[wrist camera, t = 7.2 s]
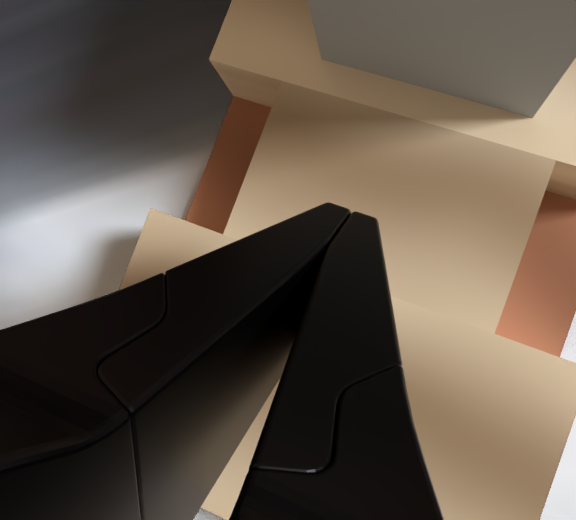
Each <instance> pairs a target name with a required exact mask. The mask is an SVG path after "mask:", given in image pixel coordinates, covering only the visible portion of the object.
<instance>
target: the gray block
mask: <svg viewBox="0 0 576 520" xmlns="http://www.w3.org/2000/svg"><path fill="white" fill-rule="evenodd" d="M307 1H308V5H309V9H310V13H311V17H312V22H313V26H314V30H315V34H316V38H317V42H318V46H319V50H320V54H321V58H322V60H325V61H329V62H332V63H336V64H340V65H343V66H347V67H350V68H354V69H358V70H361V71H365V72H369V73H372V74H376V75H379V76H383V77H387V78H390V79H394V80H398V81H401V82H405V83H408V84H412V85H416V86H419V87H423V88H426V89H430V90H434V91H437V92H441V93H445V94H448V95H452V96H455V97H459V98H463V99H466V100H470V101H473V102H477V103H481V104H484V105H488V106H492V107H495V108H499V109H502V110H506V111H510V112H513V113H517V114H521V115H524V116H528V117H531V118H533V117H534V116H535V114H536V113H537V111H538V110H539V109H540V107H541V106H542V104H543V103H544V102H545V100H546V99H547V97H548V96H549V95H550V93H551V92H552V90H553V89H554V88H555V86H556V85H557V83H558V82H559V81H560V79H561V78H562V76H563V75H564V74H565V72H566V71H567V69H568V68H569V67H570V65H571V64H572V62H573V61H574V60H575V58H576V0H307Z"/></svg>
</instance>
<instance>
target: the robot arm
mask: <svg viewBox="0 0 576 520" xmlns="http://www.w3.org/2000/svg"><path fill="white" fill-rule="evenodd" d="M280 377H281V378H280ZM279 379H280V381H279ZM278 381H279V384H278V387H277V390H276V392H275V395H274V398H273V401H272V404H271V406H270V409H269V412H268V415H267V418H266V421H265V423H264V426H263V429H262V432H261V435H260V438H259V440H258V443H257V446H256V449H255V452H254V455H253V457H252V460H251V463H250V466H249V470H248V473H247V475H246V477H245V480H244V483H243V486H242V488H241V491H240V494H239V496H238V499H237V501H236V504H235V506H234V509H233V511H232V514H231V516H230V518H229V520H444V518H443V515H442V512H441V509H440V506H439V503H438V500H437V497H436V494H435V490H434V487H433V484H432V481H431V478H430V475H429V472H428V469H427V466H426V463H425V459H424V456H423V452H422V449H421V446H420V442H419V439H418V435H417V432H416V428H415V425H414V421H413V416H412V411H411V407H410V402H409V397H408V392H407V387H406V381H405V375H404V370H403V368H402V359H401V353H400V347H399V341H398V335H397V330H396V324H395V318H394V312H393V306H392V300H391V294H390V288H389V282H388V276H387V270H386V264H385V258H384V252H383V246H382V241H381V235H380V229H379V223H378V220H377V219H376V218H375V217H372V216H369V215H366V214H363V213H360V212H356V211H355V212H352V213H351V211H350V209H348V208H345V207H342V206H339V205H336V204H333V203H330V202H327V203H324V204H321V205H319V206H317V207H314V208H312V209H310V210H307V211H305V212H303V213H300V214H298V215H296V216H293V217H291V218H289V219H286V220H284V221H282V222H279V223H277V224H275V225H272V226H270V227H268V228H265V229H263V230H260V231H258V232H256V233H253V234H251V235H249V236H246V237H244V238H242V239H239V240H237V241H235V242H232V243H230V244H228V245H225V246H223V247H221V248H218V249H216V250H214V251H211V252H209V253H207V254H204V255H202V256H200V257H197V258H195V259H193V260H190V261H188V262H186V263H183V264H181V265H179V266H176V267H174V268H172V269H169V270H167V271H166V272H165V274H164V273H159V274H157V275H155V276H152V277H150V278H148V279H145V280H143V281H141V282H138V283H136V284H133V285H131V286H128V287H126V288H123V289H120V290H118V291H115V292H113V293H110V294H108V295H105V296H102V297H99V298H97V299H94V300H91V301H88V302H85V303H82V304H79V305H76V306H73V307H70V308H68V309H64V310H61V311H58V312H55V313H52V314H49V315H46V316H43V317H40V318H37V319H33V320H30V321H27V322H24V323H21V324H18V325H15V326H12V327H9V328H6V329H2V330H0V520H193V519H194V517H195V516H196V514H197V512H198V511H199V509H200V507H201V506H202V504H203V503H204V501H205V499H206V498H207V496H208V494H209V493H210V491H211V490H212V488H213V486H214V485H215V483H216V481H217V480H218V478H219V477H220V475H221V473H222V472H223V470H224V468H225V467H226V465H227V464H228V462H229V460H230V459H231V457H232V455H233V454H234V452H235V451H236V449H237V447H238V446H239V444H240V442H241V441H242V439H243V438H244V436H245V434H246V433H247V431H248V429H249V428H250V426H251V425H252V423H253V421H254V420H255V418H256V416H257V415H258V413H259V412H260V410H261V408H262V407H263V405H264V403H265V402H266V400H267V399H268V397H269V395H270V394H271V392H272V390H273V389H274V387H275V386H276V384H277V382H278Z"/></svg>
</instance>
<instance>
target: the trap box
mask: <svg viewBox="0 0 576 520" xmlns="http://www.w3.org/2000/svg"><path fill="white" fill-rule="evenodd" d="M209 60H210V62H211V63H212V65H213V66H214V68H215V69H216V71H217V72H218V74H219V75H220V77H221V78H222V80H223V81H224V83H225V84H226V86H227V87H228V89H229V90H230V92H231V93H232V95H233V98H232V101H231V103H230V106H229V108H228V111H227V114H226V116H225V119H224V121H223V124H222V127H221V129H220V132H219V134H218V137H217V139H216V142H215V145H214V147H213V150H212V152H211V155H210V158H209V160H208V163H207V165H206V168H205V170H204V173H203V176H202V178H201V181H200V183H199V186H198V188H197V191H196V194H195V196H194V199H193V201H192V204H191V207H190V209H189V212H188V214H187V217H186V219H185V220H182V219H179V218H176V217H174V216H171V215H168V214H165V213H163V212H160V211H157V210H154V209H152V208H151V209H150V211H149V214H148V216H147V219H146V221H145V224H144V226H143V229H142V232H141V234H140V237H139V239H138V242H137V244H136V247H135V249H134V252H133V255H132V257H131V260H130V262H129V265H128V267H127V270H126V272H125V275H124V278H123V280H122V283H121V285H120V288H119V290H120V289H123V288H126V287H128V286H131V285H133V284H136V283H138V282H141V281H143V280H145V279H148V278H150V277H152V276H155V275H157V274H159V273H164V274H165V272H166V271H167V270H169V269H172V268H174V267H176V266H179V265H181V264H183V263H186V262H188V261H190V260H193V259H195V258H197V257H200V256H202V255H204V254H207V253H209V252H211V251H214V250H216V249H218V248H221V247H223V246H225V245H228V244H230V243H232V242H235V241H237V240H239V239H242V238H244V237H246V236H249V235H251V234H253V233H256V232H258V231H260V230H263V229H265V228H268V227H270V226H272V225H275V224H277V223H279V222H282V221H284V220H286V219H289V218H291V217H293V216H296V215H298V214H300V213H303V212H305V211H307V210H310V209H312V208H314V207H317V206H319V205H321V204H324V203H327V202H330V203H333V204H336V205H339V206H342V207H345V208H348V209H350V211H351V213H352V212H355V211H356V212H360V213H363V214H366V215H369V216H372V217H375V218H376V219H377V220H378V223H379V229H380V235H381V241H382V246H383V252H384V258H385V264H386V270H387V276H388V282H389V288H390V294H391V300H392V306H393V312H394V318H395V324H396V330H397V335H398V341H399V347H400V353H401V359H402V368H403V370H404V375H405V381H406V387H407V392H408V397H409V402H410V407H411V411H412V416H413V421H414V425H415V428H416V432H417V435H418V439H419V442H420V446H421V449H422V452H423V456H424V459H425V463H426V466H427V469H428V472H429V475H430V478H431V481H432V484H433V487H434V490H435V494H436V497H437V500H438V503H439V506H440V509H441V512H442V515H443V518H444V520H540V517H541V514H542V511H543V508H544V505H545V502H546V499H547V496H548V494H549V491H550V488H551V485H552V482H553V479H554V476H555V473H556V470H557V468H558V465H559V462H560V459H561V456H562V453H563V450H564V447H565V444H566V442H567V439H568V436H569V433H570V430H571V427H572V424H573V421H574V418H575V415H576V363H574V362H571V361H568V360H565V359H563V358H560V354H561V352H562V349H563V346H564V343H565V340H566V337H567V334H568V331H569V329H570V326H571V323H572V320H573V317H574V314H575V311H576V58H575V60H574V61H573V62H572V64H571V65H570V67H569V68H568V69H567V71H566V72H565V74H564V75H563V76H562V78H561V79H560V81H559V82H558V83H557V85H556V86H555V88H554V89H553V90H552V92H551V93H550V95H549V96H548V97H547V99H546V100H545V102H544V103H543V104H542V106H541V107H540V109H539V110H538V111H537V113H536V114H535V116H534V117H533V118H531V117H528V116H524V115H521V114H517V113H513V112H510V111H506V110H502V109H499V108H495V107H492V106H488V105H484V104H481V103H477V102H473V101H470V100H466V99H463V98H459V97H455V96H452V95H448V94H445V93H441V92H437V91H434V90H430V89H426V88H423V87H419V86H416V85H412V84H408V83H405V82H401V81H398V80H394V79H390V78H387V77H383V76H379V75H376V74H372V73H369V72H365V71H361V70H358V69H354V68H350V67H347V66H343V65H340V64H336V63H332V62H329V61H325V60H322V58H321V54H320V50H319V46H318V42H317V38H316V34H315V30H314V26H313V22H312V17H311V13H310V9H309V5H308V1H307V0H232V1H231V4H230V7H229V9H228V12H227V14H226V17H225V19H224V22H223V24H222V27H221V30H220V32H219V35H218V37H217V40H216V42H215V45H214V47H213V50H212V53H211V55H210V58H209ZM280 378H281V377H280ZM279 381H280V379H279ZM279 381H278V382H277V384H276V386H275V387H274V389H273V390H272V392H271V394H270V395H269V397H268V399H267V400H266V402H265V403H264V405H263V407H262V408H261V410H260V412H259V413H258V415H257V416H256V418H255V420H254V421H253V423H252V425H251V426H250V428H249V429H248V431H247V433H246V434H245V436H244V438H243V439H242V441H241V442H240V444H239V446H238V447H237V449H236V451H235V452H234V454H233V455H232V457H231V459H230V460H229V462H228V464H227V465H226V467H225V468H224V470H223V472H222V473H221V475H220V477H219V478H218V480H217V481H216V483H215V485H214V486H213V488H212V490H211V491H210V493H209V494H208V496H207V498H206V499H205V501H204V503H203V504H202V506H201V508H203V509H205V510H207V511H209V512H211V513H213V514H215V515H217V516H219V517H221V518H223V519H225V520H229V518H230V516H231V514H232V511H233V509H234V506H235V504H236V501H237V499H238V496H239V494H240V491H241V488H242V486H243V483H244V480H245V477H246V475H247V473H248V470H249V466H250V463H251V460H252V457H253V455H254V452H255V449H256V446H257V443H258V440H259V438H260V435H261V432H262V429H263V426H264V423H265V421H266V418H267V415H268V412H269V409H270V406H271V404H272V401H273V398H274V395H275V392H276V390H277V387H278V384H279Z"/></svg>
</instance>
